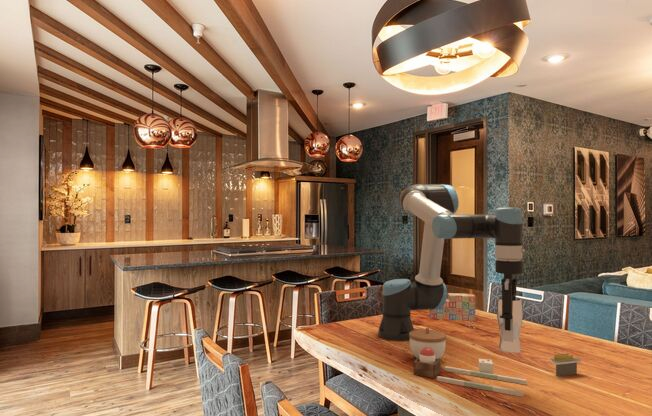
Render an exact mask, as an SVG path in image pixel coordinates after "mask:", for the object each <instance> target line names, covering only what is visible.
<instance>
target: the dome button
mask: <svg viewBox="0 0 652 416" xmlns="http://www.w3.org/2000/svg"><path fill="white" fill-rule="evenodd" d="M419 362H424V363H430V364H434V363H435V353H434V351H433V350H432V349H431V348H429V347H425V348H423V349H422V350H421V351H420V353H419Z"/></svg>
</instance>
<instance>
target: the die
mask: <svg viewBox="0 0 652 416" xmlns="http://www.w3.org/2000/svg"><path fill="white" fill-rule="evenodd" d="M478 372H484V373H490V374H494V363H493V360H492V359H485V358H478Z"/></svg>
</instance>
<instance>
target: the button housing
mask: <svg viewBox="0 0 652 416" xmlns="http://www.w3.org/2000/svg"><path fill="white" fill-rule="evenodd" d="M412 363H413V364H412V365H413V371H412V372H413V375H416V376H422V377H426V378H433V379H437V376H439V374H441V372H442V359H441V358H440V359H439V358H435V363H434V364H430V363H424V362H419V357H418V358H415V359H414V361H413V362H412Z"/></svg>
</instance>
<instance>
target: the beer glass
mask: <svg viewBox="0 0 652 416" xmlns="http://www.w3.org/2000/svg"><path fill="white" fill-rule="evenodd" d="M496 299H497V301H496V319H497V325H498V331H499V332H498V333H499V344H498V350H499V351H501V352H504V353H508V354H509V353H510V354H518V353H521V351H522V347H521V343H520V342H521V341H520V336H521V335H520V334H521V329H522V324H523V323H522V322H523V304H522V299H521V298H519V297H516V298H515V301H513V312H512V316H513V318H512V319H513V342H508V341H503V318H500V316H502V296H498V297H497V298H496ZM508 314H509V313H508Z"/></svg>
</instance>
